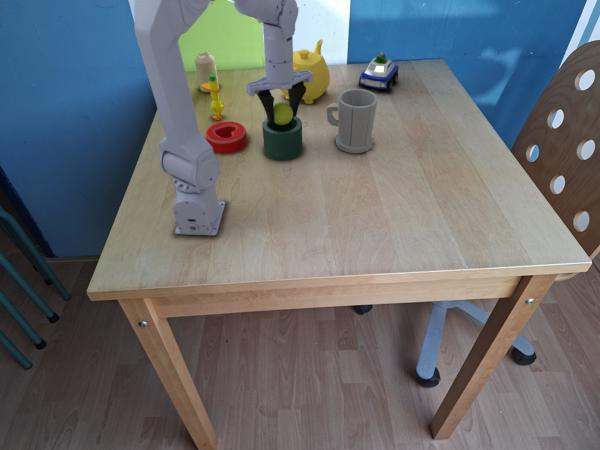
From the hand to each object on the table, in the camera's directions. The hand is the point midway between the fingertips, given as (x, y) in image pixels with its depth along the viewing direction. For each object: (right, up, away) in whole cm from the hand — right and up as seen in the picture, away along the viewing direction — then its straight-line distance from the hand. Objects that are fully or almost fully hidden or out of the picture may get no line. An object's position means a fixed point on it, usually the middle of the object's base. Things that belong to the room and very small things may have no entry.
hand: (281, 117), depth 95 cm
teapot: (+6, +13, +26) cm, 30 cm away
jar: (0, -6, +6) cm, 8 cm away
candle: (-22, +16, +29) cm, 40 cm away
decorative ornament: (-14, -4, +9) cm, 17 cm away
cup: (+16, -5, +7) cm, 18 cm away
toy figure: (-18, +4, +17) cm, 25 cm away
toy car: (+27, +17, +29) cm, 43 cm away
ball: (0, +1, -1) cm, 1 cm away
